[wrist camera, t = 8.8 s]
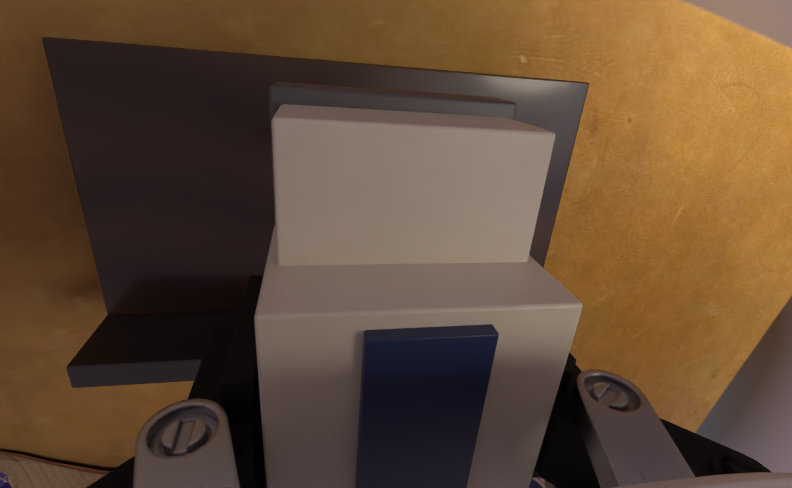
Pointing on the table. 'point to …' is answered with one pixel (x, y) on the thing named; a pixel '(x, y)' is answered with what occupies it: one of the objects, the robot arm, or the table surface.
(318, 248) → the white box
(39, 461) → the sandal
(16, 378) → the table surface
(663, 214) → the table surface
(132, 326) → the wooden base with backboard
